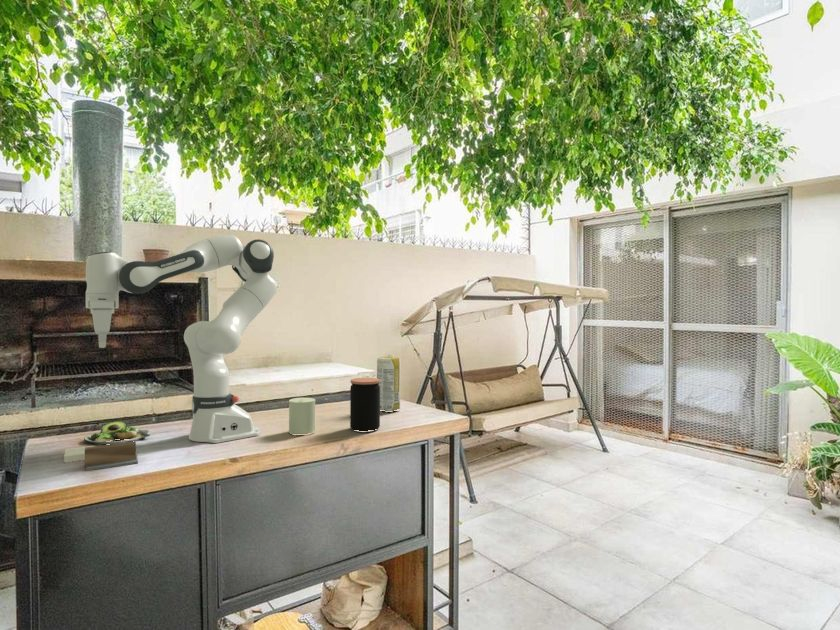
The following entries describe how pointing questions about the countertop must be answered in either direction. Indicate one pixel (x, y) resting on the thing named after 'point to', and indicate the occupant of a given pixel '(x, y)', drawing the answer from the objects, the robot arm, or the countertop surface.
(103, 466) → the pad
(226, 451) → the countertop surface
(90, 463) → the brown long block
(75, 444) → the countertop surface
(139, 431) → the plate of avocado toast
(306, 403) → the can
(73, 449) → the tile
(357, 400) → the coffee jar
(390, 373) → the juice carton
